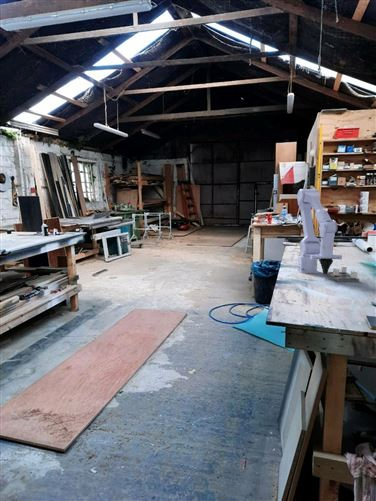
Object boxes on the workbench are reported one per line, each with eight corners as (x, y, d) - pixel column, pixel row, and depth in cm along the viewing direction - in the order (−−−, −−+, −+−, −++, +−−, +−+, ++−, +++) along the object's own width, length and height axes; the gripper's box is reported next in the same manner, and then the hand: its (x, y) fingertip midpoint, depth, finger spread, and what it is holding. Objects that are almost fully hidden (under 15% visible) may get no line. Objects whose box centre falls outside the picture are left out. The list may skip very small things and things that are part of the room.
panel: (337, 281, 151) (337, 278, 151) (325, 274, 165) (326, 271, 165) (359, 281, 151) (359, 278, 151) (345, 274, 165) (345, 271, 164)
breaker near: (352, 277, 151) (353, 272, 151) (350, 276, 153) (350, 271, 153) (356, 277, 151) (357, 272, 151) (354, 276, 153) (355, 271, 153)
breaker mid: (334, 275, 157) (335, 269, 156) (332, 273, 159) (333, 268, 158) (338, 275, 157) (339, 269, 156) (336, 273, 159) (337, 268, 158)
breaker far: (342, 272, 162) (342, 266, 161) (340, 271, 164) (340, 265, 164) (346, 272, 162) (346, 266, 161) (344, 271, 164) (344, 265, 164)
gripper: (314, 247, 152) (312, 275, 154) (345, 247, 151) (343, 275, 154) (309, 245, 159) (307, 272, 161) (339, 245, 158) (337, 272, 161)
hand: (324, 273), depth 158 cm, fingers closed
